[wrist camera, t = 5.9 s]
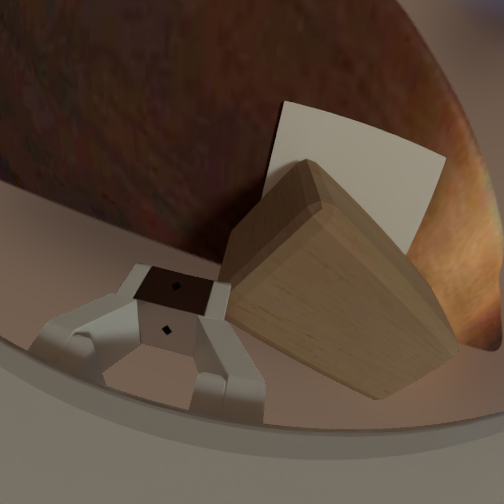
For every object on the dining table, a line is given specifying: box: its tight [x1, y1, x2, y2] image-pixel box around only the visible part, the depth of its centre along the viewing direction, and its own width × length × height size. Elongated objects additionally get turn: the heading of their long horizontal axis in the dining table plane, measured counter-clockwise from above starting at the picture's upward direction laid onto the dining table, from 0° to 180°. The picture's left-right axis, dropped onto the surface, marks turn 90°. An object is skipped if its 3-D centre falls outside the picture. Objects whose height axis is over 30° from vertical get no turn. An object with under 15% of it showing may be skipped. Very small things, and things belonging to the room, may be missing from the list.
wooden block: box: [218, 159, 458, 400], centre depth 23 cm, size 10×10×20 cm
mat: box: [261, 101, 446, 255], centre depth 24 cm, size 15×12×1 cm
